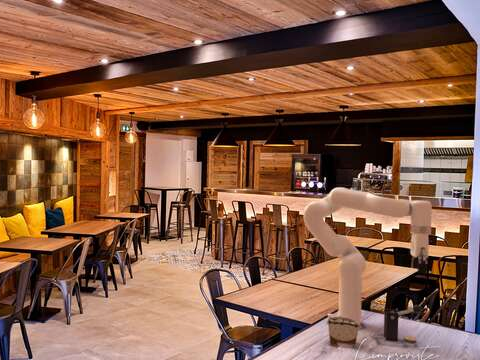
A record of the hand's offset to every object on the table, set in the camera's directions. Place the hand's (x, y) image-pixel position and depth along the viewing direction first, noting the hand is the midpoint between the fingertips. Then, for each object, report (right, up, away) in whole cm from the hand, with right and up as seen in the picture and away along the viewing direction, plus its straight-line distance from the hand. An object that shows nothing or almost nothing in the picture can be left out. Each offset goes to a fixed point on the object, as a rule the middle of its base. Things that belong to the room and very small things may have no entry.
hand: (419, 270), depth 194 cm
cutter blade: (-10, -17, -7) cm, 21 cm away
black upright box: (-15, -28, -6) cm, 32 cm away
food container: (-36, -28, -9) cm, 46 cm away
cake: (-8, -28, -8) cm, 30 cm away
